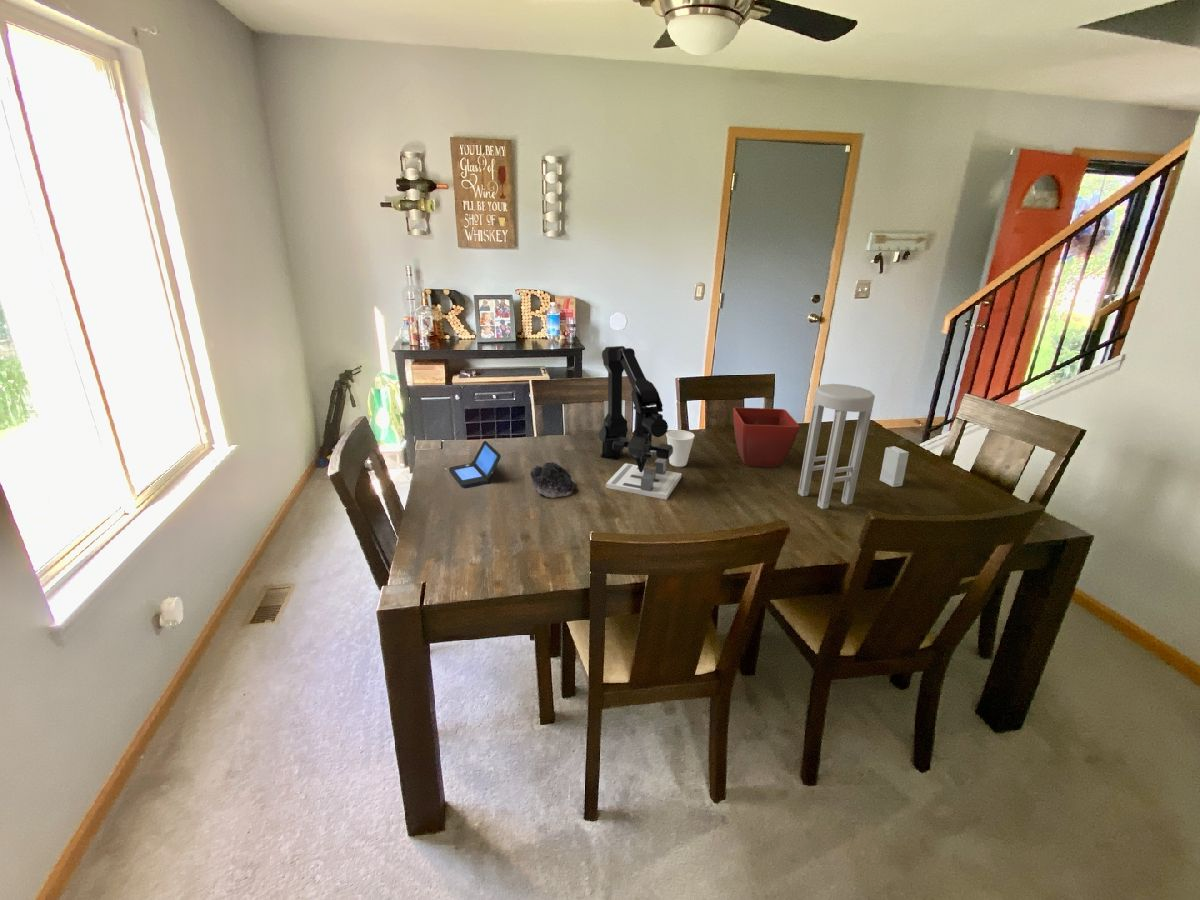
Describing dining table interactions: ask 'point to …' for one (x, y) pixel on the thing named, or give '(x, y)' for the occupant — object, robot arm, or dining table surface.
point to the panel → (631, 482)
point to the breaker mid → (650, 470)
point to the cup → (680, 446)
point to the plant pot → (764, 435)
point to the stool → (836, 439)
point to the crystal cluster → (552, 480)
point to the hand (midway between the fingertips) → (641, 471)
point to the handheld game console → (477, 467)
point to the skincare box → (894, 466)
